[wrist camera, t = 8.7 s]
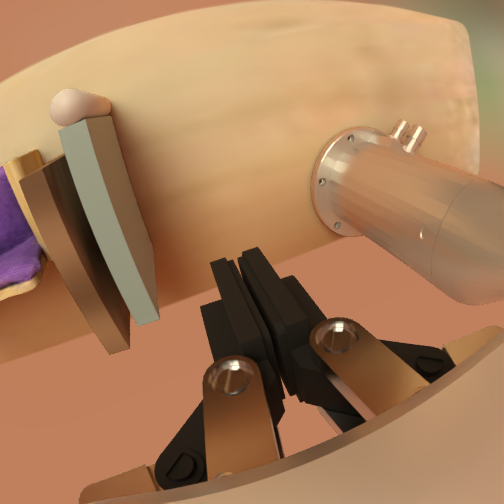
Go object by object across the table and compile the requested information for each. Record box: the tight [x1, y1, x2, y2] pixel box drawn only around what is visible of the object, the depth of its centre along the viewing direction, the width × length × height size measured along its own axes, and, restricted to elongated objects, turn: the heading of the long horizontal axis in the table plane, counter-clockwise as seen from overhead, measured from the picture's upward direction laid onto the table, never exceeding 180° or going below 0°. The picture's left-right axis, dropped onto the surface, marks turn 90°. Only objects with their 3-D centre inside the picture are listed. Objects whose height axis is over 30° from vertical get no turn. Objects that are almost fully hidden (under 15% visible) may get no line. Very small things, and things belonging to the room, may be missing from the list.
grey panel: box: [50, 89, 160, 326], centre depth 20 cm, size 2×15×11 cm, turn 11°
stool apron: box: [19, 153, 130, 355], centre depth 21 cm, size 12×2×12 cm, turn 12°
